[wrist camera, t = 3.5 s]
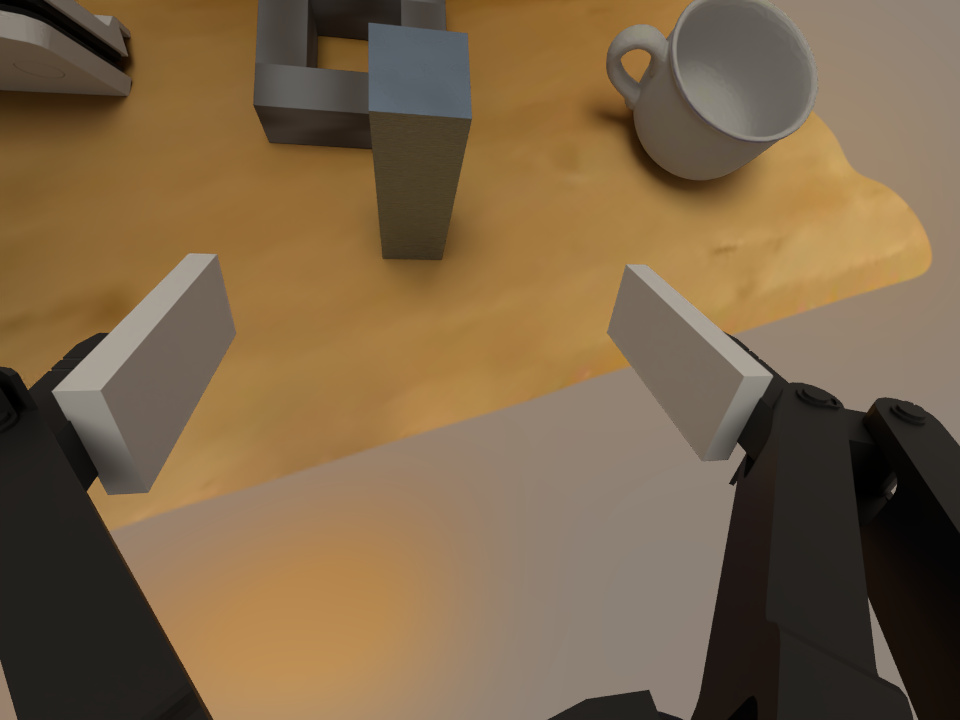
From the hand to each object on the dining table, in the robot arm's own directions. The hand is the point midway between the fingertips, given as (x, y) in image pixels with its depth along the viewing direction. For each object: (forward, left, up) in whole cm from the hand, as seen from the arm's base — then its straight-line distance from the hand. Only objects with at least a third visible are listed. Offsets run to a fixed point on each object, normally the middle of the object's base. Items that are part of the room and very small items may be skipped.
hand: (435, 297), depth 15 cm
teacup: (+8, +27, -15) cm, 32 cm away
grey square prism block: (-5, +9, -15) cm, 18 cm away
